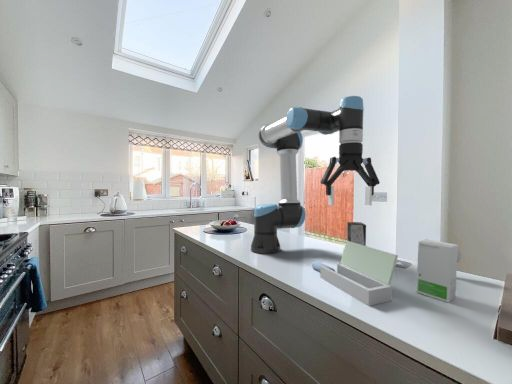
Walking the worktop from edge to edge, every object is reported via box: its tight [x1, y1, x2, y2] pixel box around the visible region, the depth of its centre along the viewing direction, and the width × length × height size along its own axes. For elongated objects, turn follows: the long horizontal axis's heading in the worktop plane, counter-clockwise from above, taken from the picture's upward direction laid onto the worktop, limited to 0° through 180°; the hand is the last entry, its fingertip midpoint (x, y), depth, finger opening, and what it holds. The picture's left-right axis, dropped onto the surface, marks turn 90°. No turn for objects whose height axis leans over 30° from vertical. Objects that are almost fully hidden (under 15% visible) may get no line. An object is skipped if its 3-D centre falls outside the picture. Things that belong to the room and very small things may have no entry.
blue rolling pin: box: [311, 260, 336, 273], centre depth 88 cm, size 10×3×3 cm, turn 20°
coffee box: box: [346, 221, 367, 246], centre depth 104 cm, size 9×6×16 cm
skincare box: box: [415, 238, 459, 304], centre depth 69 cm, size 8×7×16 cm
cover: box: [339, 240, 399, 286], centre depth 76 cm, size 20×9×1 cm
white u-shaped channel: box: [319, 263, 393, 306], centre depth 74 cm, size 21×8×4 cm, turn 20°
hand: (349, 205), depth 81 cm, fingers open, 13 cm apart
